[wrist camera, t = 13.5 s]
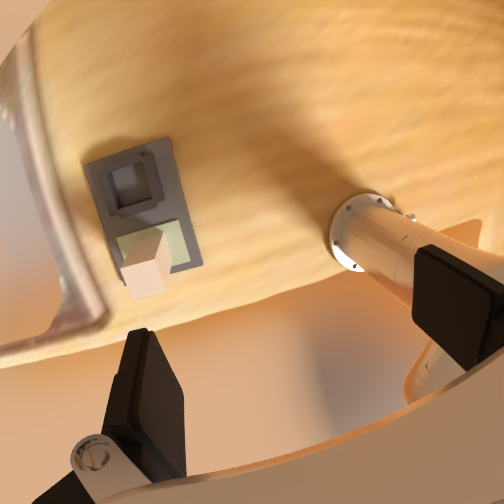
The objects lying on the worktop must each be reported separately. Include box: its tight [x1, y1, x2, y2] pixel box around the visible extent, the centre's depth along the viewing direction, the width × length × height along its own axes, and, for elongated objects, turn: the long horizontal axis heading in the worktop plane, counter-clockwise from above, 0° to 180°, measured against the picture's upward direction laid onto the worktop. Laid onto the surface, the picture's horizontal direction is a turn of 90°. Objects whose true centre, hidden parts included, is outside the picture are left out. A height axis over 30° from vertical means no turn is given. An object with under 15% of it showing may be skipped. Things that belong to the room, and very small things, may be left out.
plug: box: [120, 232, 172, 301], centre depth 36 cm, size 4×4×10 cm
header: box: [84, 137, 203, 286], centre depth 38 cm, size 12×18×4 cm, turn 12°
